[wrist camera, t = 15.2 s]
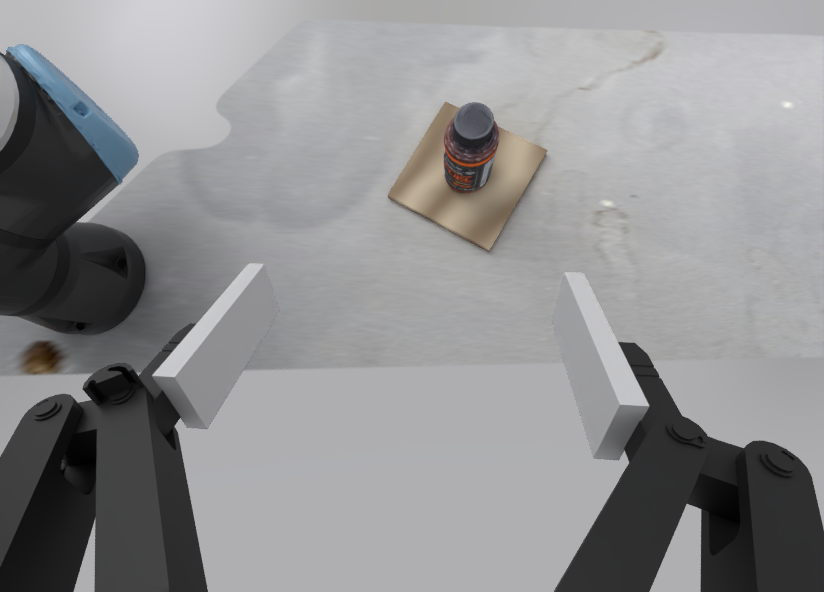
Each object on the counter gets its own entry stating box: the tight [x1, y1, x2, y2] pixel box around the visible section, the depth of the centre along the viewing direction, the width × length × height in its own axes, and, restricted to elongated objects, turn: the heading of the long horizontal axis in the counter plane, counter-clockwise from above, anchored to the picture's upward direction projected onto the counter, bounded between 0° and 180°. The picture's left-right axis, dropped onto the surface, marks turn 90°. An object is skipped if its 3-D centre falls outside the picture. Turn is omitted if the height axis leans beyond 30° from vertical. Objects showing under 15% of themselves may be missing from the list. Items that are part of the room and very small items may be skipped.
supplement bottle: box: [444, 102, 499, 193], centre depth 42 cm, size 6×6×11 cm
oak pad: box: [388, 102, 547, 252], centre depth 48 cm, size 15×15×1 cm
